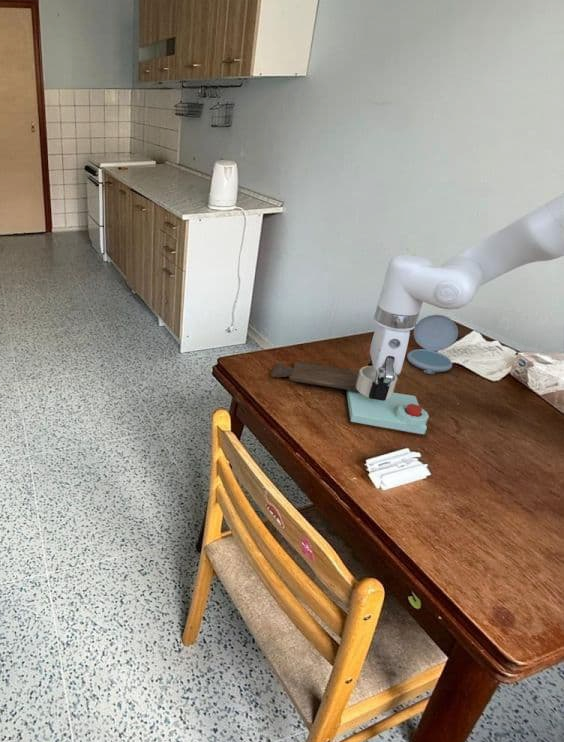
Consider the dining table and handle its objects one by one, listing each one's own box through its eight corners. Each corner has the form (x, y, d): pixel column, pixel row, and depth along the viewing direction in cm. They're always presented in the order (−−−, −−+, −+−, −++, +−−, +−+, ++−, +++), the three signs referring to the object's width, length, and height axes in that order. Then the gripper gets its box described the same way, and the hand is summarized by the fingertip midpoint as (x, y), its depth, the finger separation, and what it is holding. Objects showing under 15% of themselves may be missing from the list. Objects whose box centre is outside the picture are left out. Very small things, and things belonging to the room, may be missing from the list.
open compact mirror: (463, 318, 121) (466, 342, 110) (450, 355, 126) (451, 381, 115) (418, 310, 126) (417, 332, 114) (407, 346, 131) (404, 371, 119)
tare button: (418, 411, 100) (420, 405, 99) (420, 418, 97) (423, 412, 97) (404, 408, 100) (406, 402, 100) (406, 415, 98) (408, 409, 97)
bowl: (389, 386, 107) (394, 368, 104) (394, 403, 101) (400, 385, 98) (353, 380, 109) (358, 363, 107) (356, 397, 103) (361, 380, 101)
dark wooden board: (276, 364, 124) (269, 380, 116) (277, 358, 124) (269, 374, 116) (388, 379, 112) (388, 397, 104) (389, 373, 112) (390, 390, 104)
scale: (414, 403, 107) (418, 390, 106) (426, 435, 97) (431, 422, 96) (346, 392, 112) (349, 379, 110) (350, 422, 102) (354, 409, 100)
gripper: (425, 337, 88) (400, 414, 96) (408, 302, 102) (387, 372, 110) (381, 332, 90) (359, 407, 98) (370, 298, 104) (352, 367, 113)
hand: (374, 388), depth 104 cm, fingers closed on bowl, 7 cm apart
